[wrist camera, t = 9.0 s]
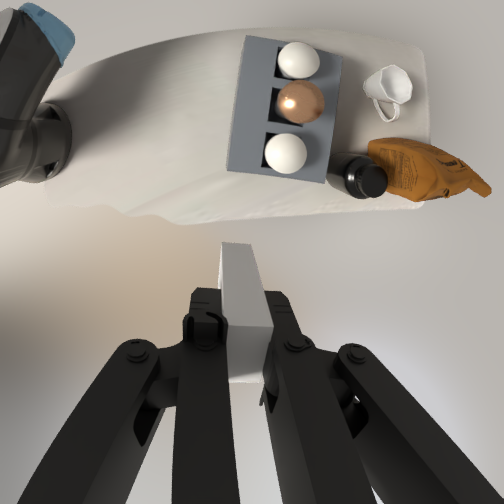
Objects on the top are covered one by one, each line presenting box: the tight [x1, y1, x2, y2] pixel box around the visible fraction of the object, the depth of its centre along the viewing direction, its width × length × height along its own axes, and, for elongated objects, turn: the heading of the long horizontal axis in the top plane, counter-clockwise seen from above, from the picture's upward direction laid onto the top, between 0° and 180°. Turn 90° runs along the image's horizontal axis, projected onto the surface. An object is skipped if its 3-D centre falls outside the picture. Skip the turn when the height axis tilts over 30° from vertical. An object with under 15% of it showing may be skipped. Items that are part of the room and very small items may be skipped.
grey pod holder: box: [226, 35, 343, 184], centre depth 37 cm, size 14×20×8 cm
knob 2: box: [263, 133, 307, 174], centre depth 36 cm, size 5×5×8 cm
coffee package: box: [368, 138, 491, 202], centre depth 35 cm, size 10×12×22 cm
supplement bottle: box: [326, 152, 388, 199], centre depth 40 cm, size 7×7×12 cm
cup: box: [363, 64, 413, 122], centre depth 36 cm, size 7×10×8 cm
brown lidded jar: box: [274, 80, 325, 124], centre depth 30 cm, size 5×5×8 cm
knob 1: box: [274, 42, 320, 81], centre depth 31 cm, size 5×5×8 cm
